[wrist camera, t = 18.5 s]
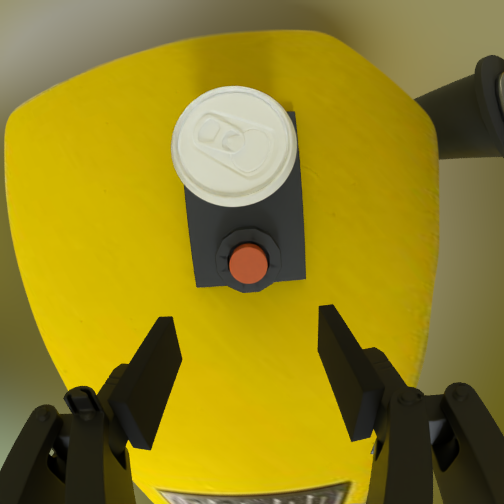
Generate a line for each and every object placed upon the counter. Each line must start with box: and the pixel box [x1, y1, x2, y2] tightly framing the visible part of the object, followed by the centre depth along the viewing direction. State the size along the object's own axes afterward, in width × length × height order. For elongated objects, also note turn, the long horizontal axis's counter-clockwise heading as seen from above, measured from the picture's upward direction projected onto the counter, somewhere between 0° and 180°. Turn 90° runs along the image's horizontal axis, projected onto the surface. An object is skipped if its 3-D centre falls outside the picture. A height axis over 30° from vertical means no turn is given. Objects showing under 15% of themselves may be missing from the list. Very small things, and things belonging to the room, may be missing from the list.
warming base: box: [184, 112, 306, 293], centre depth 27 cm, size 18×12×3 cm, turn 5°
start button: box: [229, 243, 268, 284], centre depth 27 cm, size 4×4×2 cm
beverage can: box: [171, 86, 297, 207], centre depth 21 cm, size 8×8×12 cm
